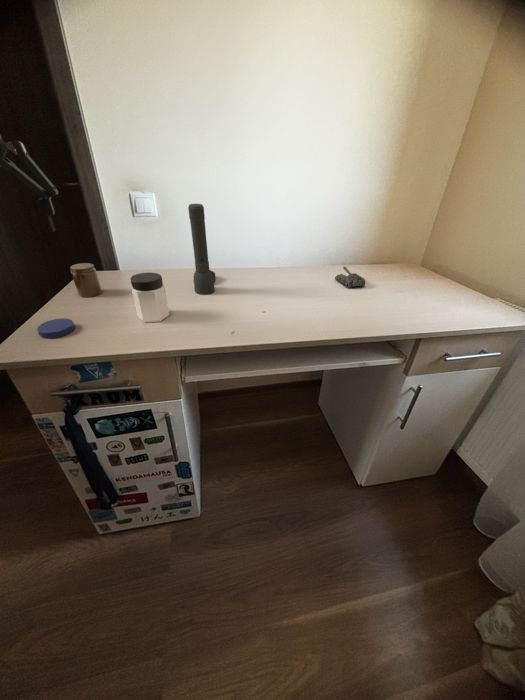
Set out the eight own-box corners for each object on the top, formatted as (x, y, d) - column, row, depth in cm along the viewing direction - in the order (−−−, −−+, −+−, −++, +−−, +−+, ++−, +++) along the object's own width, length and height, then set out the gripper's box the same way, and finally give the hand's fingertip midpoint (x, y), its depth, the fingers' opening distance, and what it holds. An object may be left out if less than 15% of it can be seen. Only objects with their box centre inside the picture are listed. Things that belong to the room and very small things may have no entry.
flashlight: (191, 293, 100) (210, 295, 99) (179, 206, 82) (202, 208, 81) (199, 285, 105) (217, 287, 104) (189, 201, 88) (210, 203, 87)
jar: (152, 307, 89) (144, 270, 82) (174, 312, 87) (168, 274, 80) (132, 319, 82) (122, 279, 75) (155, 325, 79) (147, 284, 73)
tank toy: (331, 279, 118) (333, 266, 115) (351, 277, 120) (354, 265, 117) (346, 289, 108) (349, 276, 105) (367, 288, 110) (371, 275, 108)
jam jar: (80, 299, 92) (70, 270, 87) (77, 292, 97) (67, 264, 92) (104, 294, 96) (96, 267, 91) (99, 288, 101) (92, 261, 96)
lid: (77, 321, 80) (75, 316, 79) (72, 335, 73) (70, 330, 72) (43, 326, 77) (40, 320, 76) (36, 340, 71) (33, 334, 70)
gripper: (49, 114, 57) (83, 227, 68) (-120, 100, 49) (-49, 231, 60) (40, 109, 51) (78, 233, 63) (-153, 92, 43) (-68, 238, 55)
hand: (16, 232), depth 61 cm, fingers open, 13 cm apart
